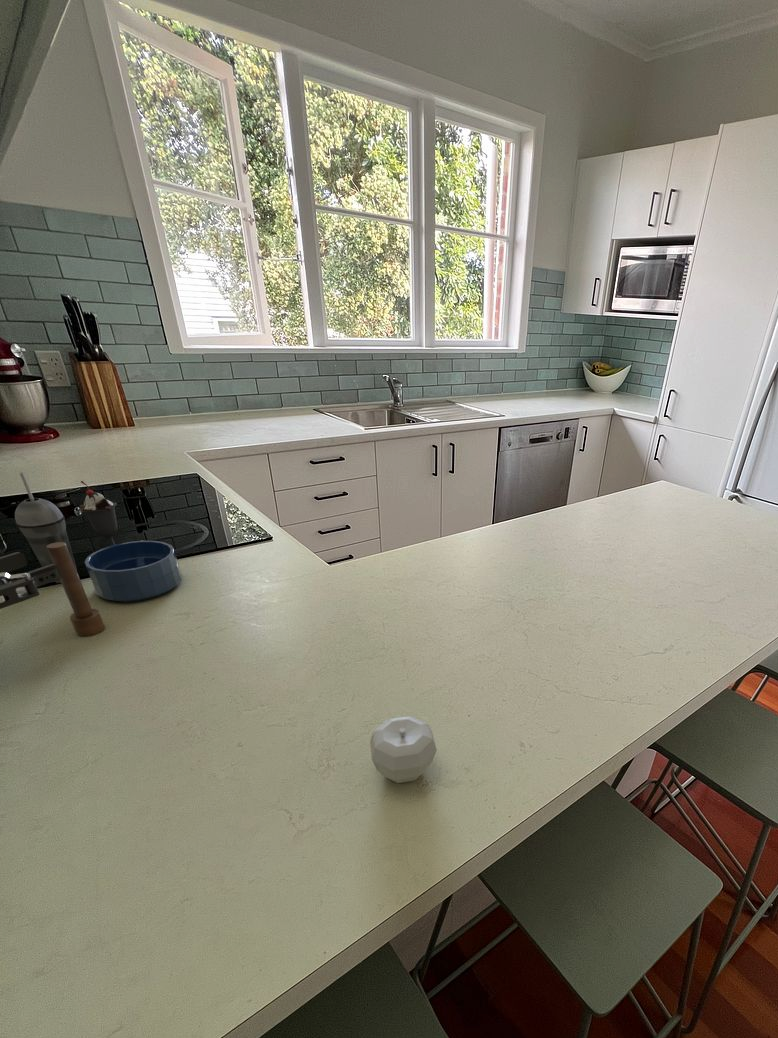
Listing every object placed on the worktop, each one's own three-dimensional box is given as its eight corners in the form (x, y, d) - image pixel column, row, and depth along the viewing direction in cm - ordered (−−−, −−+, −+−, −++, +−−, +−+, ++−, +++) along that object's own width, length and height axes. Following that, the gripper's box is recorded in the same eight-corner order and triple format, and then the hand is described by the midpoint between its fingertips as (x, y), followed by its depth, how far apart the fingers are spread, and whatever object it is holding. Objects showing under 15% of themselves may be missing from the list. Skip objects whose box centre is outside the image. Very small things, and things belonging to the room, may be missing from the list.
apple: (416, 739, 70) (414, 699, 66) (450, 777, 64) (450, 735, 61) (359, 765, 65) (354, 724, 62) (391, 807, 60) (387, 765, 57)
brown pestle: (71, 636, 88) (33, 550, 80) (84, 624, 91) (49, 539, 83) (97, 636, 88) (62, 550, 80) (109, 624, 91) (77, 540, 83)
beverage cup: (42, 589, 101) (-6, 482, 90) (40, 575, 106) (-5, 471, 95) (88, 580, 104) (47, 476, 94) (84, 567, 109) (45, 466, 99)
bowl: (81, 604, 96) (67, 571, 93) (120, 571, 108) (109, 540, 105) (164, 604, 98) (154, 571, 94) (193, 571, 110) (185, 540, 106)
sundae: (100, 547, 118) (74, 478, 110) (134, 544, 120) (112, 476, 112) (91, 559, 113) (64, 487, 105) (128, 556, 115) (104, 485, 107)
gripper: (-82, 596, 63) (61, 550, 76) (-142, 570, 68) (2, 531, 81) (-51, 650, 67) (80, 597, 80) (-109, 622, 72) (23, 576, 85)
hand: (41, 564), depth 80 cm, fingers open, 8 cm apart
